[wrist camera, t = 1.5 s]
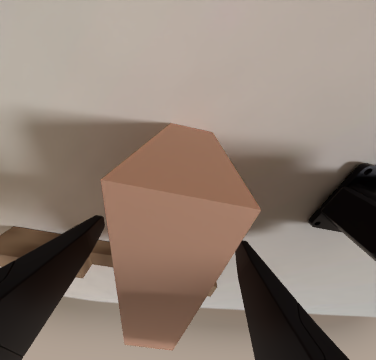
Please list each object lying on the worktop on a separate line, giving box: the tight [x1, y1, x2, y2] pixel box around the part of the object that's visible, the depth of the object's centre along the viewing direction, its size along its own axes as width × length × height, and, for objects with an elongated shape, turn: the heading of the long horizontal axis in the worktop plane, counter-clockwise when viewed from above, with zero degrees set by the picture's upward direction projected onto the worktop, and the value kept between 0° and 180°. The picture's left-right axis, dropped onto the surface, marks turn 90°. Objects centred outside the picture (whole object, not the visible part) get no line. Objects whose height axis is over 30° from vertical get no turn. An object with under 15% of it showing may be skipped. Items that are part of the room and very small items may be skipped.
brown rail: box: [0, 227, 217, 297], centre depth 16 cm, size 24×2×3 cm, turn 79°
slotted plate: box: [101, 123, 261, 350], centre depth 9 cm, size 3×12×8 cm, turn 169°
